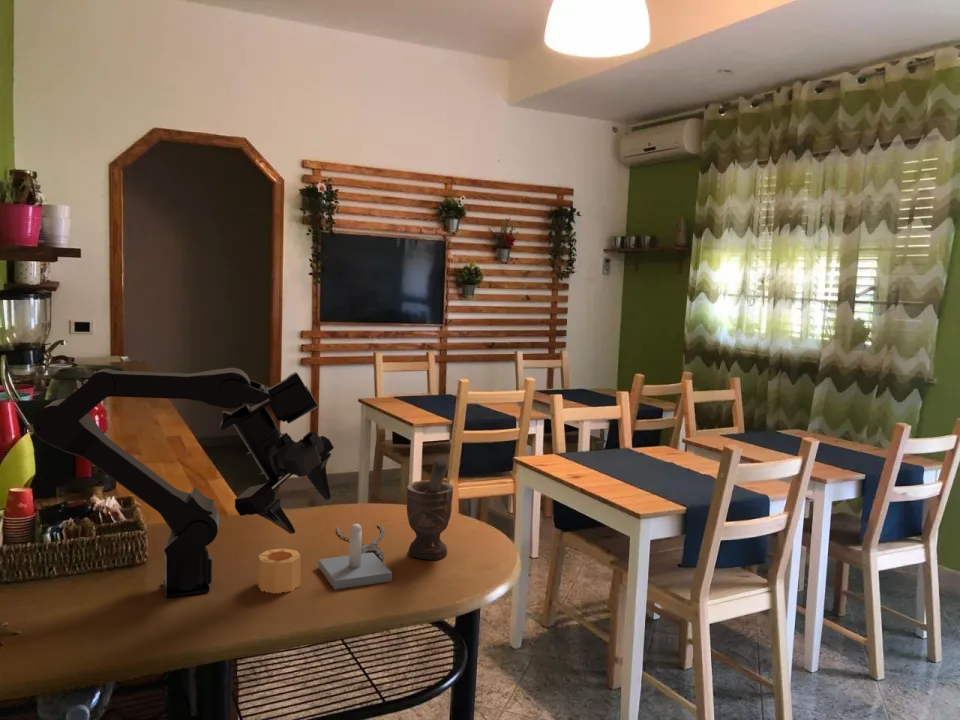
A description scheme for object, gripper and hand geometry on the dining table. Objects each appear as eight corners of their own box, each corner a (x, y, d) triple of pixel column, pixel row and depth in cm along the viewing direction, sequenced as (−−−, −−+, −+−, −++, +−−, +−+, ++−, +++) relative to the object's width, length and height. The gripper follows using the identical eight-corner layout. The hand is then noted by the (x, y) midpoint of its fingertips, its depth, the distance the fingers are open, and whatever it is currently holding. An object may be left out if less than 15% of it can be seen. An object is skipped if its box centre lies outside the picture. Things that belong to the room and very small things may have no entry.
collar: (263, 595, 120) (263, 565, 120) (255, 580, 126) (255, 551, 126) (303, 589, 123) (303, 560, 123) (293, 575, 129) (294, 546, 128)
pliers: (376, 521, 158) (416, 553, 140) (376, 525, 158) (415, 558, 140) (331, 527, 153) (367, 561, 136) (331, 531, 153) (367, 565, 136)
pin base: (334, 589, 124) (336, 536, 123) (318, 567, 133) (319, 518, 132) (391, 580, 129) (393, 530, 128) (372, 560, 137) (374, 512, 136)
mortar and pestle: (469, 562, 139) (474, 456, 137) (430, 571, 133) (435, 461, 131) (433, 543, 148) (437, 443, 146) (395, 551, 142) (399, 448, 140)
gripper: (251, 463, 111) (304, 548, 114) (330, 400, 125) (375, 477, 128) (210, 473, 117) (262, 553, 121) (290, 412, 131) (334, 485, 135)
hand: (311, 515), depth 126 cm, fingers open, 9 cm apart
